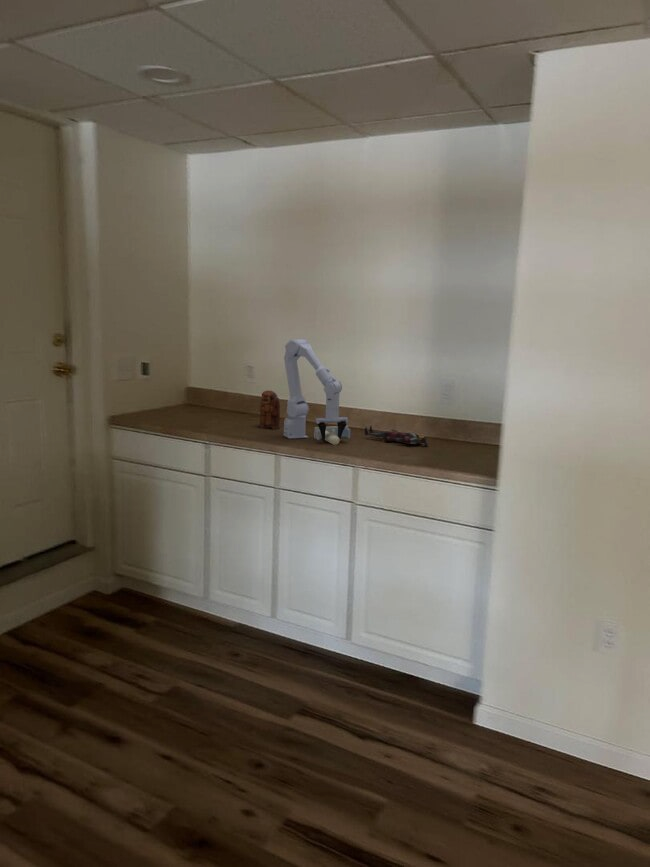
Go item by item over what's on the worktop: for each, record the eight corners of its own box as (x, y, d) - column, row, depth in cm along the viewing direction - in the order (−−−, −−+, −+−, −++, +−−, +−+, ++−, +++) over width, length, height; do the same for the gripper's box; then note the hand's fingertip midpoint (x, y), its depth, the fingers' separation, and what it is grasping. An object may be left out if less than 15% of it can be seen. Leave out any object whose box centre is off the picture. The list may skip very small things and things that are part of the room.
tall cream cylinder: (339, 443, 286) (338, 435, 285) (331, 445, 285) (330, 437, 284) (329, 438, 297) (328, 429, 296) (321, 440, 296) (320, 431, 295)
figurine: (374, 424, 306) (434, 432, 290) (374, 436, 307) (433, 444, 291) (361, 428, 296) (422, 436, 280) (360, 441, 297) (421, 449, 281)
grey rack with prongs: (317, 439, 293) (317, 429, 292) (314, 438, 297) (314, 427, 296) (350, 438, 300) (351, 427, 299) (347, 436, 303) (347, 425, 302)
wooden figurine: (255, 426, 319) (255, 390, 315) (263, 425, 324) (263, 388, 321) (275, 430, 313) (275, 392, 309) (282, 428, 318) (283, 391, 315)
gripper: (320, 410, 281) (319, 441, 283) (351, 409, 286) (350, 439, 289) (314, 407, 287) (313, 438, 290) (344, 406, 293) (343, 436, 295)
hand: (331, 438), depth 290 cm, fingers open, 7 cm apart
